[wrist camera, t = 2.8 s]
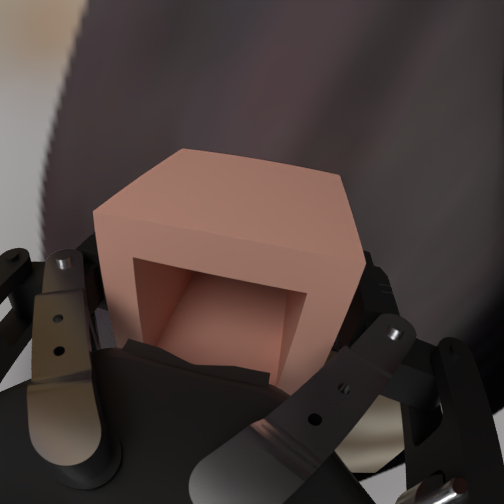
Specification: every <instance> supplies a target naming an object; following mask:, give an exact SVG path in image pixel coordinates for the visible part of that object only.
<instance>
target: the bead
mask: <svg viewBox="0 0 504 504" xmlns="http://www.w3.org/2000/svg"><path fill="white" fill-rule="evenodd" d="M93 217H94V225H95V234H96V241H97V248H98V255H99V262H100V268H101V274H102V280H103V285H104V291H105V296H106V301H107V306H108V311H109V315H110V320H111V324H112V329H113V333H114V337H115V341H116V345H117V348H123V347H124V345H125V343H126V342H127V340H128V338H129V339H132V340H135V341H139V342H142V343H145V344H149V345H152V346H156V347H159V348H162V349H164V350H166V351H168V352H169V353H171V354H173V355H175V356H177V357H179V358H181V359H183V360H185V361H187V362H189V363H191V364H195V365H222V366H238V367H242V368H247V369H252V370H258V371H263V372H268V373H270V379H269V384H271V385H273V386H276V387H278V388H279V389H281V390H283V391H285V392H286V393H287V394H289V395H290V396H291V395H292V394H293V393H295V392H296V391H297V390H298V389H299V388H300V387H301V386H302V385H303V384H305V383H306V382H307V381H308V380H309V379H310V378H311V377H312V376H313V375H314V374H315V373H317V372H318V371H319V370H320V369H321V368H322V367H323V366H324V364H325V361H326V359H327V357H328V355H329V353H330V351H331V348H332V346H333V344H334V342H335V339H336V337H337V335H338V332H339V330H340V328H341V325H342V323H343V321H344V318H345V316H346V314H347V311H348V309H349V306H350V304H351V301H352V299H353V296H354V294H355V291H356V289H357V286H358V284H359V281H360V278H361V276H362V273H363V270H364V268H365V265H366V261H365V257H364V253H363V250H362V246H361V243H360V239H359V235H358V232H357V229H356V225H355V222H354V218H353V215H352V212H351V209H350V205H349V202H348V199H347V196H346V193H345V190H344V187H343V184H342V181H341V178H340V175H337V174H332V173H327V172H323V171H318V170H313V169H308V168H303V167H298V166H293V165H288V164H282V163H277V162H271V161H265V160H260V159H254V158H247V157H241V156H235V155H228V154H221V153H214V152H206V151H198V150H190V149H181V150H179V151H178V152H176V153H175V154H173V155H172V156H170V157H169V158H167V159H166V160H164V161H163V162H161V163H160V164H158V165H157V166H155V167H154V168H152V169H151V170H149V171H148V172H146V173H145V174H143V175H142V176H140V177H139V178H138V179H136V180H135V181H133V182H132V183H131V184H129V185H128V186H126V187H125V188H124V189H122V190H121V191H120V192H118V193H117V194H115V195H114V196H113V197H111V198H110V199H109V200H107V201H106V202H105V203H103V204H102V205H101V206H100V207H98V208H97V209H96V210H94V211H93Z"/></svg>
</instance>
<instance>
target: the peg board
mask: <svg viewBox="0 0 504 504" xmlns="http://www.w3.org/2000/svg"><path fill="white" fill-rule="evenodd" d="M336 353H337V352H336V351H330V353H329V355H328V357H327V359H326V361H325V364H326V363H327V362H328V361H329V360H330V359H331V358H332V357H333V356H334V355H335V354H336ZM325 364H324V365H325ZM440 405H441V404H440ZM441 410H442V406H441ZM442 413H443V412H442ZM403 450H404V437H403V426H402V416H401V407H400V402H397V401H395V400H392V399H389V398H387V397H384V396H382V395H378V397H377V398H376V400H375V401H374V402H373V404H372V405H371V406H370V408H369V409H368V410H367V411H366V413H365V414H364V415H363V417H362V418H361V419H360V420H359V422H358V423H357V424H356V425H355V427H354V428H353V429H352V430H351V432H350V433H349V434H348V435H347V436H346V438H345V439H344V440H343V441H342V442H341V443H340V445H339V446H338V447H337V448H336V449H335V452H336V453H337V454H338V456H339V457H340V458H341V460H342V461H343V462H344V464H345V465H346V466H347V467H348V469H349V470H350V471H351V472H365V473H374V472H376V471H378V470H379V469H380V468H382V467H383V466H384V465H385V464H387V463H388V462H389V461H390V460H392V459H393V458H394V457H395V456H397V455H398V454H399V453H400V452H401V451H403Z"/></svg>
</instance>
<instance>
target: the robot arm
mask: <svg viewBox="0 0 504 504" xmlns="http://www.w3.org/2000/svg"><path fill="white" fill-rule="evenodd" d="M363 253H364V257H365V261H366V265H365V268H364V270H363V273H362V276H361V278H360V281H359V284H358V286H357V289H356V291H355V294H354V296H353V299H352V301H351V304H350V306H349V309H348V311H347V314H346V316H345V318H344V321H343V323H342V325H341V328H340V330H339V332H338V336H339V351H338V352H337V353H336V354H335V355H334V356H333V357H332V358H331V359H330V360H329V361H328V362H327V363H326V364H325V365H324V366H323V367H322V368H321V369H320V370H319V371H318V372H317V373H315V374H314V375H313V376H312V377H311V378H310V379H309V380H308V381H307V382H306V383H305V384H303V385H302V386H301V387H300V388H299V389H298V390H297V391H296V392H295V393H293V394H292V395H291V396H290V395H289V394H287V393H286V392H285V391H283V390H281V389H279V388H278V387H276V386H273V385H271V384H269V379H270V373H268V372H263V371H258V370H252V369H247V368H242V367H238V366H222V365H195V364H191V363H189V362H187V361H185V360H183V359H181V358H179V357H177V356H175V355H173V354H171V353H169V352H168V351H166V350H164V349H162V348H159V347H156V346H152V345H149V344H145V343H142V342H139V341H135V340H132V339H129V338H128V340H127V342H126V343H125V345H124V347H123V348H106V349H101V346H100V341H99V334H98V328H97V321H96V316H95V312H94V311H95V310H96V309H97V307H98V308H102V309H105V310H108V306H107V301H106V296H105V291H104V285H103V280H102V274H101V268H100V262H99V255H98V248H97V241H96V234H95V232H94V233H93V235H91V236H90V237H88V238H87V239H86V240H85V241H84V242H83V243H82V244H81V245H80V246H79V247H78V248H76V249H62V250H59V251H56V252H54V253H52V254H51V255H50V256H49V257H48V258H47V259H46V262H31V259H30V256H29V252H28V251H27V250H26V249H23V248H15V249H11V250H8V251H6V252H4V253H3V254H2V255H1V256H0V304H1V303H2V302H3V301H4V300H5V299H6V297H7V296H8V298H9V300H10V303H11V305H12V309H11V310H10V311H9V312H8V314H7V315H6V316H5V317H4V318H3V320H2V321H1V322H0V383H1V381H2V379H3V378H4V377H5V375H6V373H7V372H8V371H9V369H10V368H11V366H12V365H13V363H14V362H15V360H16V359H17V358H18V356H19V355H20V353H21V352H22V351H23V349H24V348H25V346H26V345H27V344H28V342H29V341H30V340H31V338H32V360H31V366H32V367H31V370H32V378H31V379H29V380H27V381H24V382H22V383H20V384H17V385H15V386H13V387H11V388H8V389H6V390H4V391H1V392H0V504H376V503H375V502H374V501H373V500H372V498H371V497H370V496H369V494H367V492H366V491H365V489H364V488H363V487H362V486H361V484H360V483H359V482H358V480H357V479H356V478H355V477H354V475H353V474H352V473H351V471H350V470H349V469H348V467H347V466H346V465H345V464H344V462H343V461H342V460H341V458H340V457H339V456H338V454H337V453H336V452H335V449H336V448H337V447H338V446H339V445H340V443H341V442H342V441H343V440H344V439H345V438H346V436H347V435H348V434H349V433H350V432H351V430H352V429H353V428H354V427H355V425H356V424H357V423H358V422H359V420H360V419H361V418H362V417H363V415H364V414H365V413H366V411H367V410H368V409H369V408H370V406H371V405H372V404H373V402H374V401H375V400H376V398H377V397H378V395H382V396H384V397H387V398H389V399H392V400H395V401H397V402H400V407H401V416H402V426H403V437H404V449H405V465H406V488H407V491H406V492H404V493H403V494H402V495H401V496H400V497H399V498H398V499H397V501H396V503H395V504H504V463H503V458H502V453H501V449H500V444H499V440H498V435H497V431H496V428H495V424H494V419H493V416H492V412H491V409H490V405H489V402H488V398H487V395H486V392H485V389H484V385H483V382H482V379H481V376H480V373H479V370H478V368H477V365H476V362H475V359H474V356H473V354H472V352H471V350H470V349H469V347H468V346H467V345H466V344H464V343H463V342H462V341H460V340H458V339H456V338H452V337H446V338H443V339H442V340H441V341H440V342H439V344H438V345H437V347H436V346H434V345H431V344H429V343H426V342H424V341H421V340H419V339H417V338H416V331H415V329H414V327H413V326H412V324H411V323H410V322H408V321H407V320H406V319H404V318H403V317H401V316H400V315H399V311H398V308H397V305H396V301H395V298H394V295H393V294H392V293H393V292H392V289H391V287H390V282H389V279H388V276H387V275H386V274H385V273H384V272H383V270H382V269H381V268H380V267H376V266H374V265H373V261H372V258H371V255H370V252H367V251H363ZM440 404H441V405H440ZM441 406H442V410H441ZM442 412H443V415H442Z"/></svg>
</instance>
